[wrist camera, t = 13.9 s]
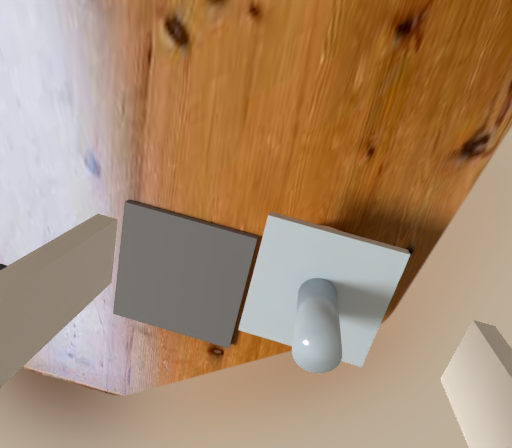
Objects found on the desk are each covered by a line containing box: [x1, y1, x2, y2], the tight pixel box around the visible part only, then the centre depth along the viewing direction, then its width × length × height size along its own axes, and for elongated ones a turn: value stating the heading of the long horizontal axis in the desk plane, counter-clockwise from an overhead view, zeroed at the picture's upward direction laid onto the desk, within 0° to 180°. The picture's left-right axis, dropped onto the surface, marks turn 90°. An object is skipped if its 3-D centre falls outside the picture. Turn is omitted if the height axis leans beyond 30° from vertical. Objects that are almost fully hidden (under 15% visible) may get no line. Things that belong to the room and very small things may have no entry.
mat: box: [113, 200, 258, 348], centre depth 52 cm, size 18×18×1 cm
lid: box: [238, 212, 410, 373], centre depth 35 cm, size 14×14×10 cm
